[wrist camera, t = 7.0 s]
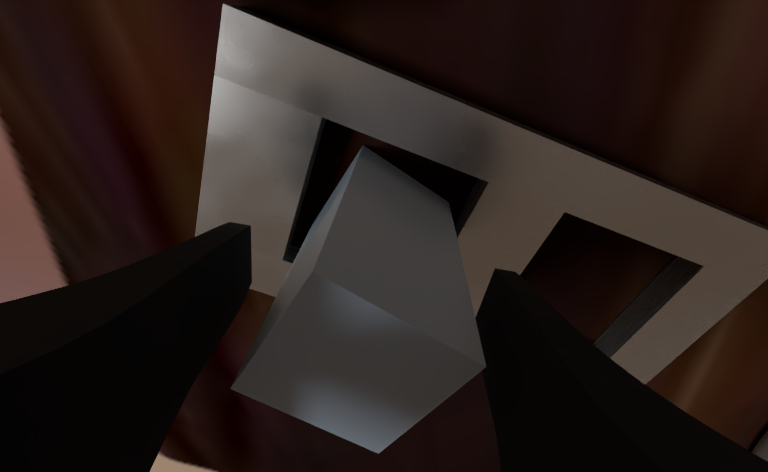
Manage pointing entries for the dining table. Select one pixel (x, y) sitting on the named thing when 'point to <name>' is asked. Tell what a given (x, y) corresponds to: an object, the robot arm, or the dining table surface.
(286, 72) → the panel
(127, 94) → the dining table surface
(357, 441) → the plug
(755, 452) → the bowl
